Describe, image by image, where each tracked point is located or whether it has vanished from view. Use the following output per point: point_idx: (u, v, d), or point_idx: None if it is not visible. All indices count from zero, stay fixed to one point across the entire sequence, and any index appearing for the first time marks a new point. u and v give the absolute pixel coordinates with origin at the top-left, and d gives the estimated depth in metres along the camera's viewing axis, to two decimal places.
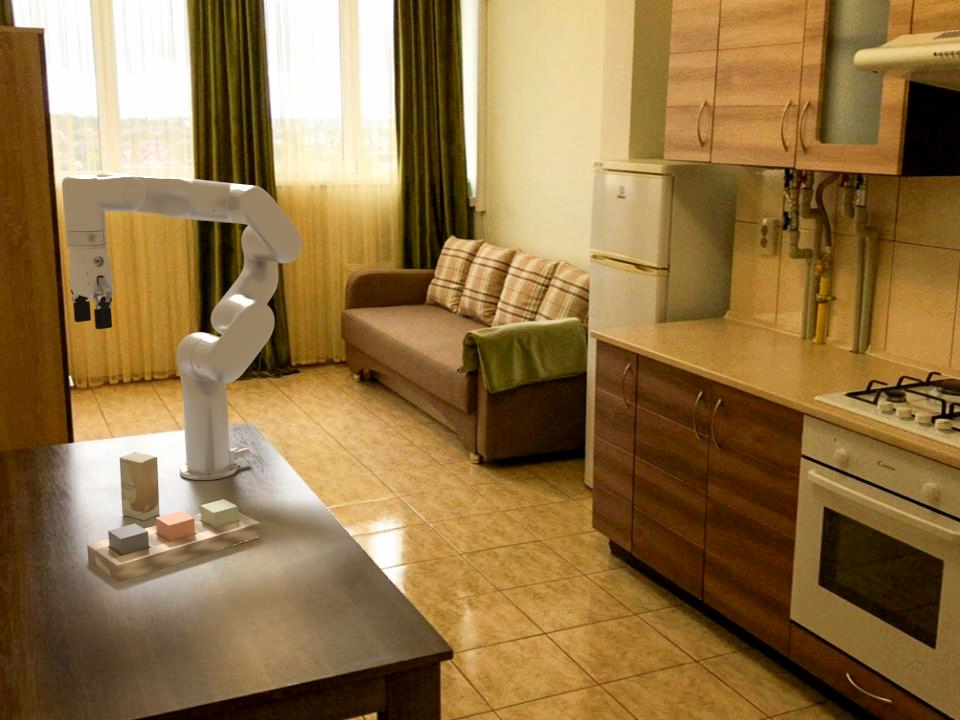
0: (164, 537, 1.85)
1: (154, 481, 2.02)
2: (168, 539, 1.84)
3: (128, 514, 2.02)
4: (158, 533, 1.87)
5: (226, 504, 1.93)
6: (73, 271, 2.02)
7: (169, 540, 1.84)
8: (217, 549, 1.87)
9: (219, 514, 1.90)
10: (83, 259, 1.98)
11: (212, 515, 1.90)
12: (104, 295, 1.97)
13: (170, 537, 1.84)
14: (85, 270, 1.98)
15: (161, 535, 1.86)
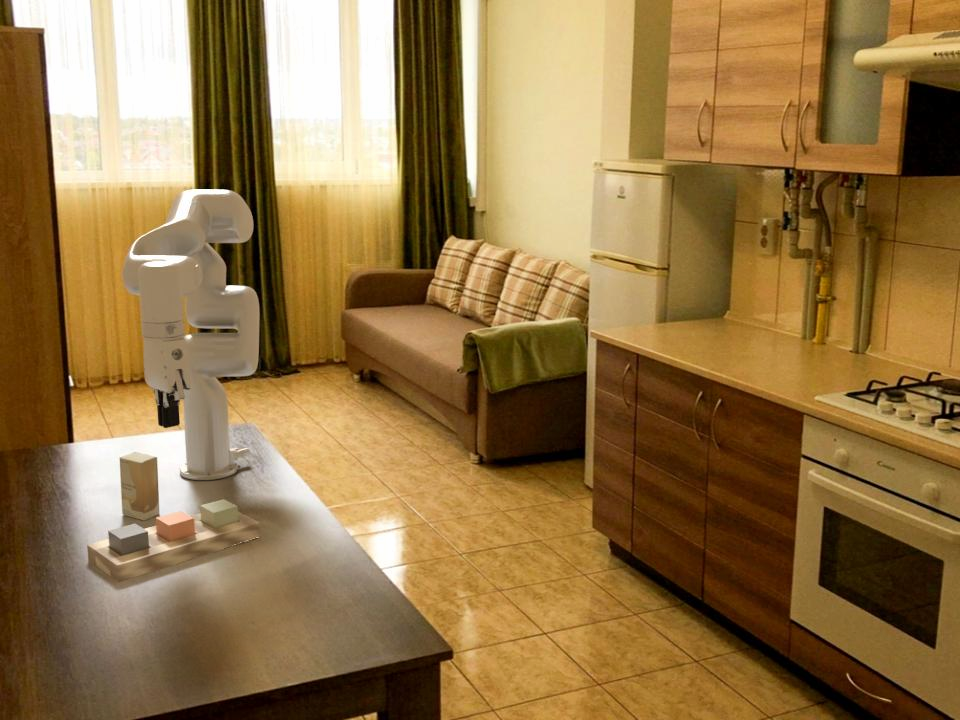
0: (164, 537, 1.85)
1: (154, 481, 2.02)
2: (168, 539, 1.84)
3: (128, 514, 2.02)
4: (158, 533, 1.87)
5: (226, 504, 1.93)
6: (148, 363, 1.88)
7: (169, 540, 1.84)
8: (217, 549, 1.87)
9: (219, 514, 1.90)
10: (161, 352, 1.84)
11: (212, 515, 1.90)
12: (174, 397, 1.87)
13: (170, 537, 1.84)
14: (163, 364, 1.84)
15: (161, 535, 1.86)
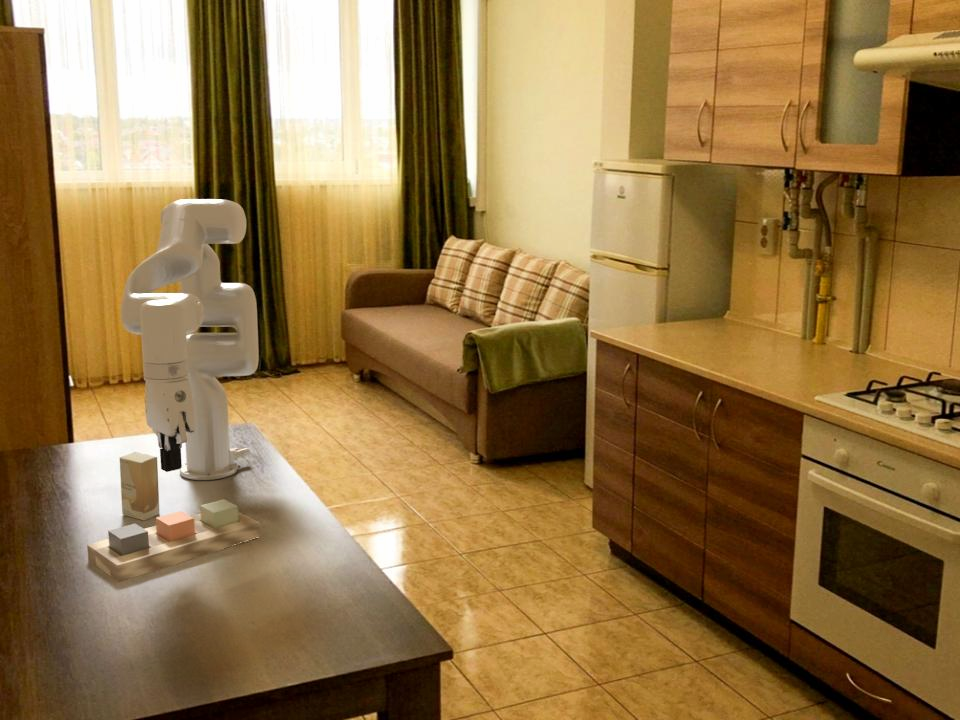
0: (164, 537, 1.85)
1: (154, 481, 2.02)
2: (168, 539, 1.84)
3: (128, 514, 2.02)
4: (158, 533, 1.87)
5: (226, 504, 1.93)
6: (150, 405, 1.81)
7: (169, 540, 1.84)
8: (217, 549, 1.87)
9: (219, 514, 1.90)
10: (163, 394, 1.77)
11: (212, 515, 1.90)
12: (176, 441, 1.79)
13: (170, 537, 1.84)
14: (165, 406, 1.77)
15: (161, 535, 1.86)
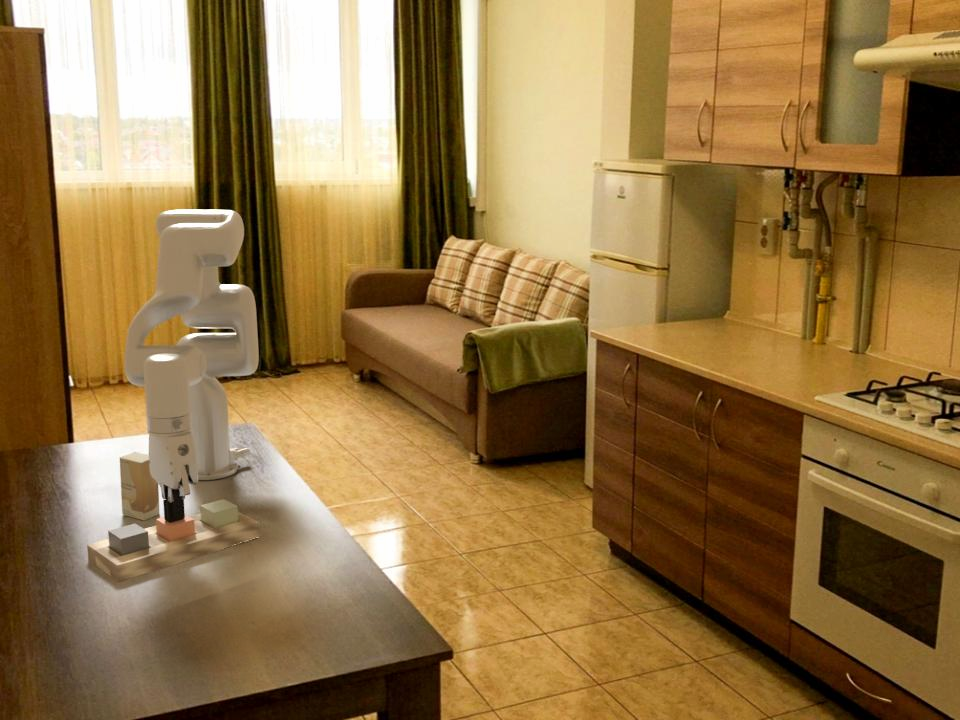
0: (164, 538, 1.85)
1: (154, 481, 2.02)
2: (168, 540, 1.84)
3: (128, 514, 2.02)
4: (158, 534, 1.87)
5: (226, 504, 1.93)
6: (153, 457, 1.83)
7: (169, 541, 1.84)
8: (217, 549, 1.87)
9: (219, 514, 1.90)
10: (166, 447, 1.79)
11: (212, 515, 1.90)
12: (179, 493, 1.82)
13: (170, 538, 1.84)
14: (169, 460, 1.79)
15: (161, 536, 1.86)
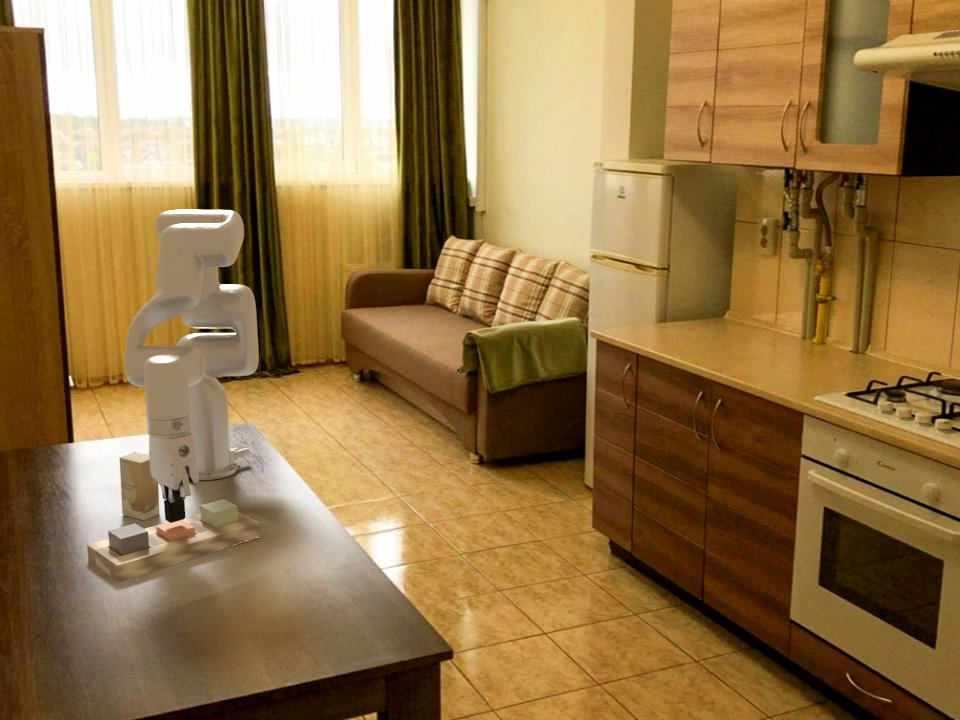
0: None
1: (154, 481, 2.02)
2: None
3: (128, 514, 2.02)
4: None
5: (226, 504, 1.93)
6: (154, 458, 1.84)
7: None
8: (217, 549, 1.87)
9: (219, 514, 1.90)
10: (167, 449, 1.80)
11: (212, 515, 1.90)
12: (180, 494, 1.82)
13: None
14: (169, 461, 1.80)
15: None
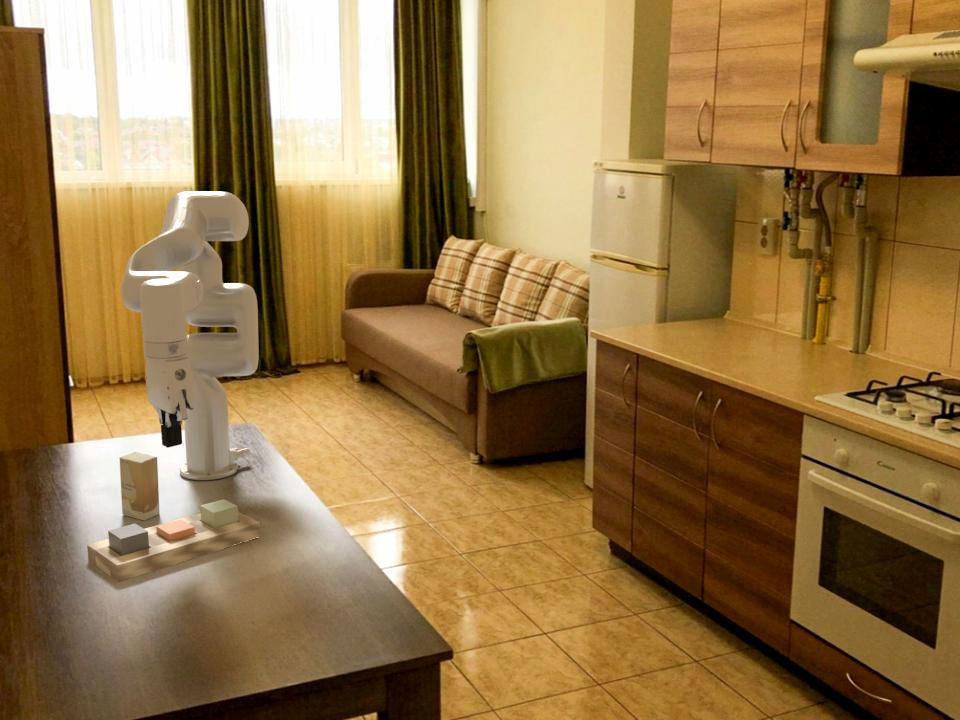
0: None
1: (154, 481, 2.02)
2: None
3: (128, 514, 2.02)
4: None
5: (226, 504, 1.93)
6: (151, 382, 1.84)
7: None
8: (217, 549, 1.87)
9: (219, 514, 1.90)
10: (163, 372, 1.80)
11: (212, 515, 1.90)
12: (177, 418, 1.83)
13: None
14: (166, 384, 1.80)
15: None
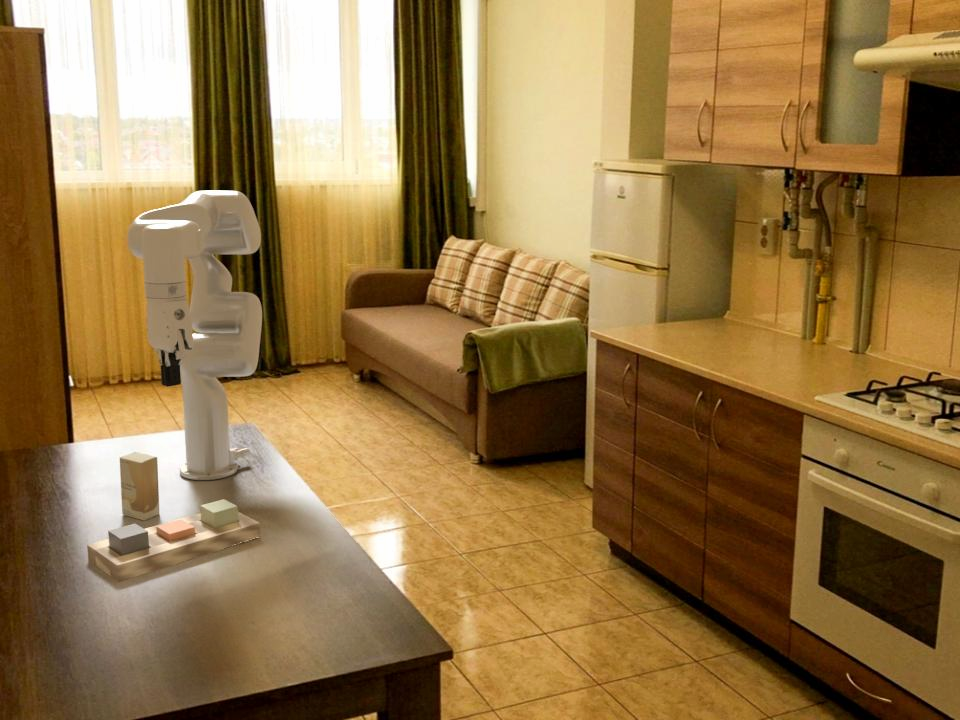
0: None
1: (154, 481, 2.02)
2: None
3: (128, 514, 2.02)
4: None
5: (226, 504, 1.93)
6: (151, 323, 1.94)
7: None
8: (217, 549, 1.87)
9: (219, 514, 1.90)
10: (163, 312, 1.90)
11: (212, 515, 1.90)
12: (176, 357, 1.92)
13: None
14: (165, 324, 1.90)
15: None
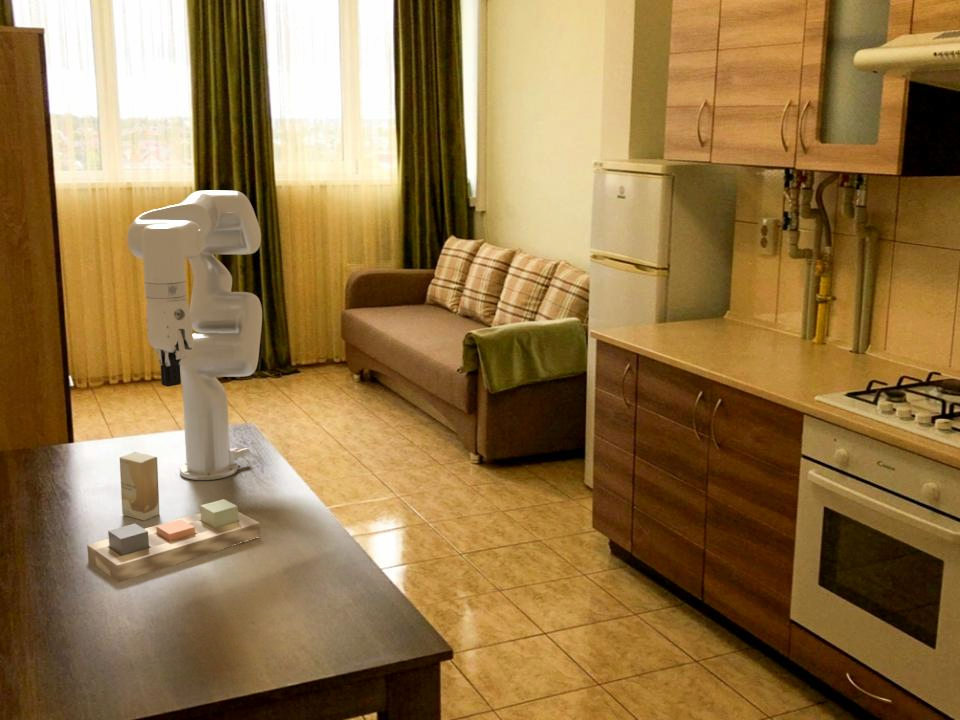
0: None
1: (154, 481, 2.02)
2: None
3: (128, 514, 2.02)
4: None
5: (226, 504, 1.93)
6: (151, 323, 1.94)
7: None
8: (217, 549, 1.87)
9: (219, 514, 1.90)
10: (163, 312, 1.90)
11: (212, 515, 1.90)
12: (176, 356, 1.92)
13: None
14: (165, 324, 1.90)
15: None
